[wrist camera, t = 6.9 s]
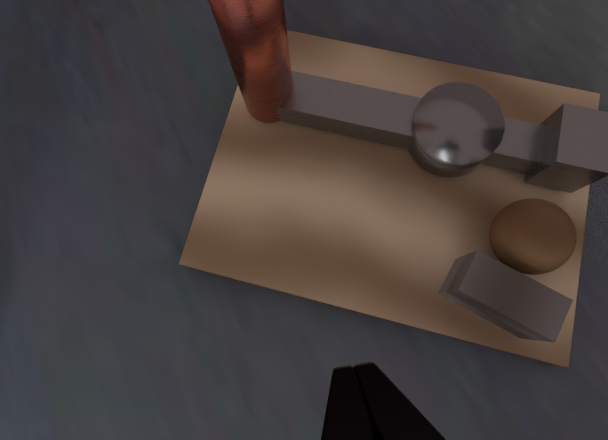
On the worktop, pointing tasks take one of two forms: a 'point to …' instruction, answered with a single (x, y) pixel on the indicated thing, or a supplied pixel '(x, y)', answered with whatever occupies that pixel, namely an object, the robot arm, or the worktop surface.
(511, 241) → the walnut
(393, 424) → the robot arm
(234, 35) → the lever
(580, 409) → the worktop surface
